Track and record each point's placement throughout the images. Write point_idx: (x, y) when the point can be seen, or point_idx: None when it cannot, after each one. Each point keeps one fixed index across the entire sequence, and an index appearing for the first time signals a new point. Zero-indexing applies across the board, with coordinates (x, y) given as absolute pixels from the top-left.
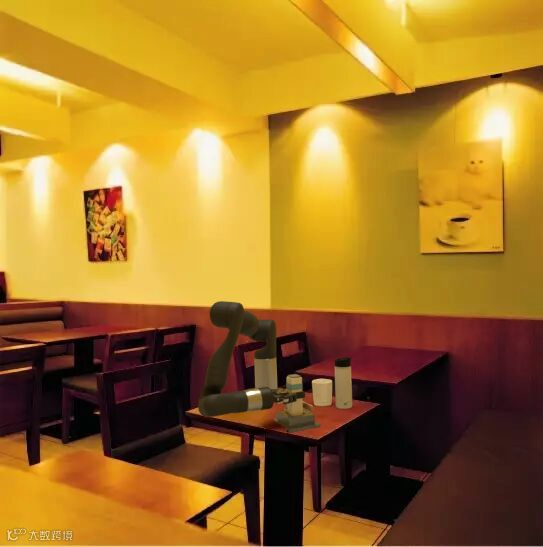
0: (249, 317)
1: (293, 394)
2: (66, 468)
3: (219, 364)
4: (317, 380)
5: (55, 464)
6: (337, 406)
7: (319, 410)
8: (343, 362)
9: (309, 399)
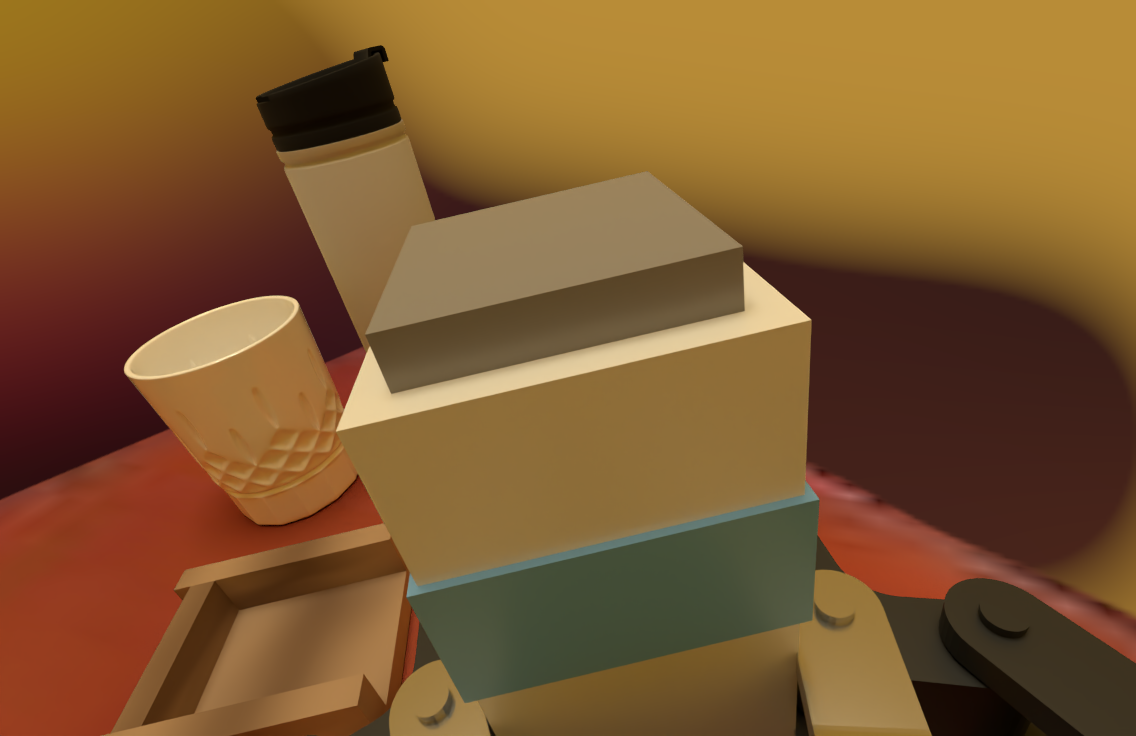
0: None
1: (1055, 657)
2: None
3: None
4: (146, 357)
5: None
6: None
7: (368, 514)
8: (376, 82)
9: (104, 522)
